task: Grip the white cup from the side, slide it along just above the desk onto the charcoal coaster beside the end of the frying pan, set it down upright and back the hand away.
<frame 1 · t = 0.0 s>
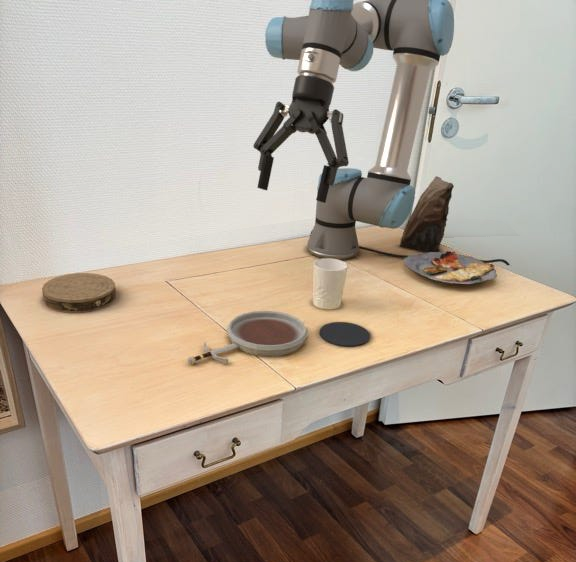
hand: (290, 195, 115), 28 cm above the table, tool tilted 20°, fingers open, 13 cm apart
food plate: (449, 274, 161), on the table
frying pan: (246, 346, 120), on the table
white cup: (326, 304, 139), on the table
coaster: (344, 334, 126), on the table
tin can: (80, 298, 134), on the table
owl: (419, 247, 180), on the table
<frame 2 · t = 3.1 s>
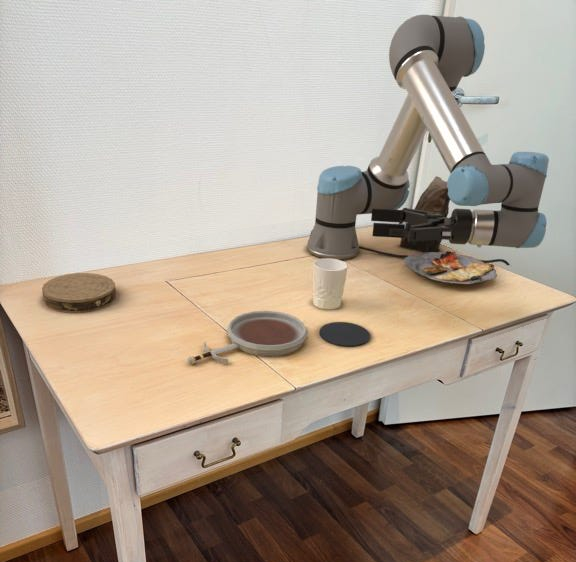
hand: (372, 221, 129), 20 cm above the table, tool horizontal, fingers open, 13 cm apart
nothing on the table moved.
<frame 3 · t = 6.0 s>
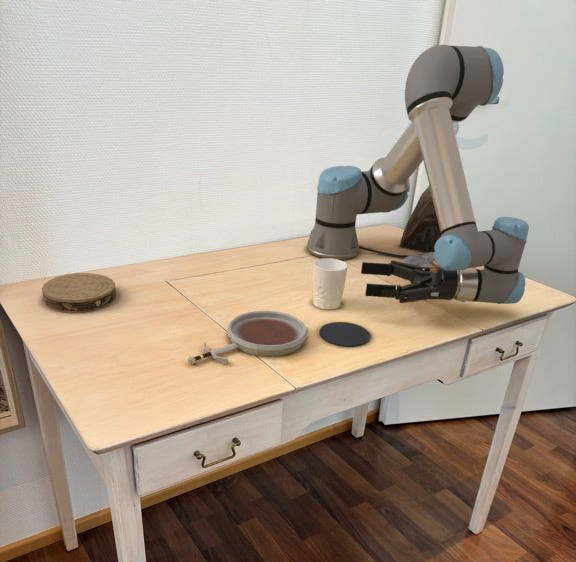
hand: (363, 278, 135), 7 cm above the table, tool horizontal, fingers open, 13 cm apart
nothing on the table moved.
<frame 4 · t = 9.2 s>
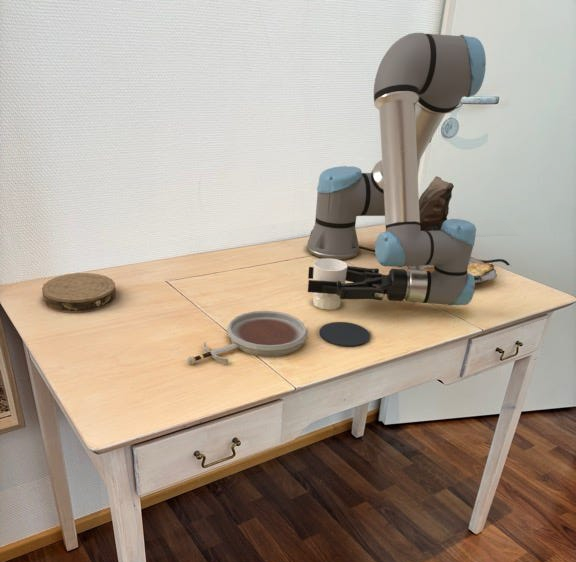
hand: (308, 279, 136), 6 cm above the table, tool horizontal, fingers closed on white cup, 8 cm apart
white cup: (326, 304, 139), on the table, touching gripper
everything else where it was.
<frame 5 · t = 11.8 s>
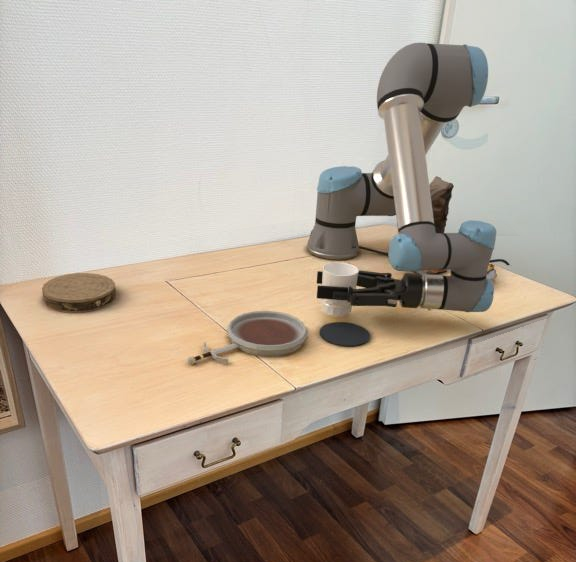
hand: (317, 284, 128), 8 cm above the table, tool horizontal, fingers closed on white cup, 8 cm apart
white cup: (336, 311, 131), point 2 cm above the table, touching gripper
everything else where it was.
when the fingers open (6 cm above the table, at t = 14.4 s): white cup stays where it is, resting on coaster.
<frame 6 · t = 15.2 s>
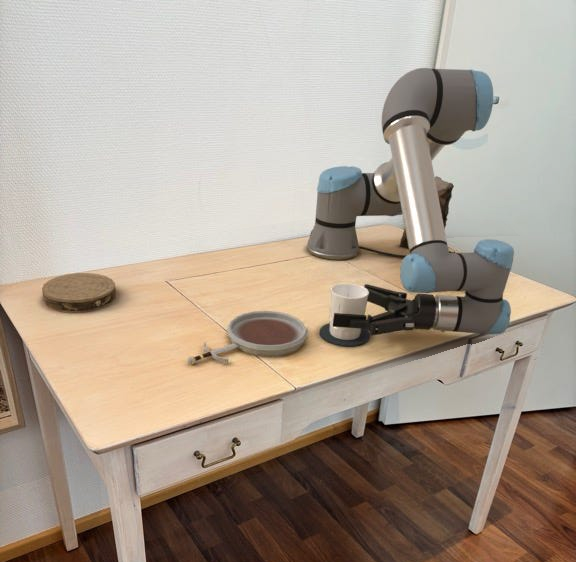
hand: (332, 305, 122), 7 cm above the table, tool horizontal, fingers open, 13 cm apart
white cup: (344, 334, 126), resting on coaster
everything else where it was.
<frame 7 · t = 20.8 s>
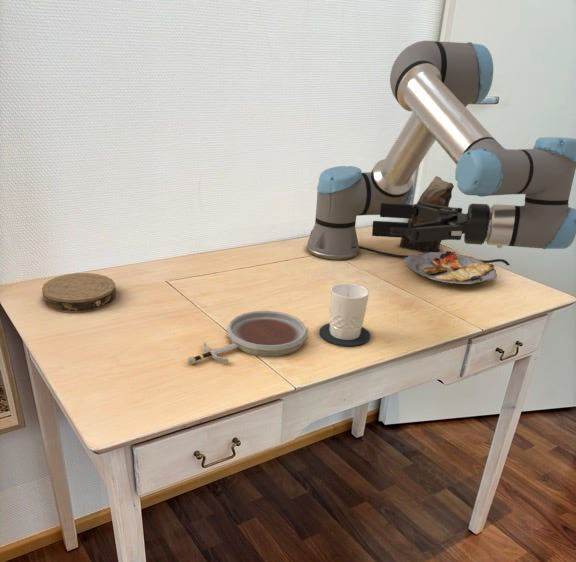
hand: (376, 218, 116), 25 cm above the table, tool horizontal, fingers open, 13 cm apart
nothing on the table moved.
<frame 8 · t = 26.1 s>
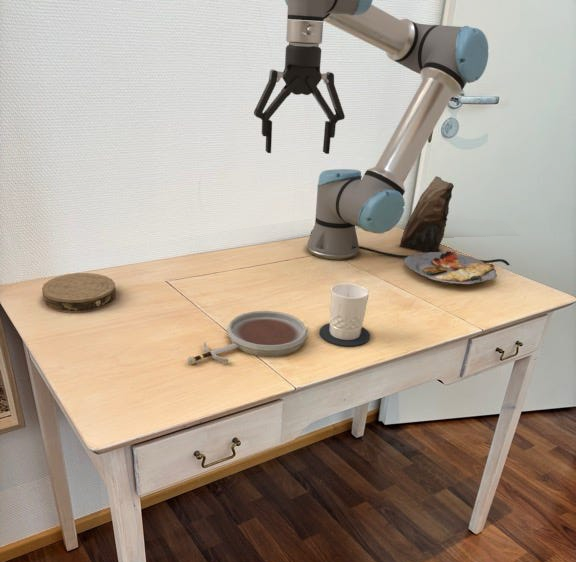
hand: (297, 152, 132), 32 cm above the table, tool pointing down, fingers open, 13 cm apart
nothing on the table moved.
at the end: white cup 0.0 cm off-centre on the coaster, point 0.2 cm above the coaster's base; white cup tilted 0°; the gripper is holding nothing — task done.
